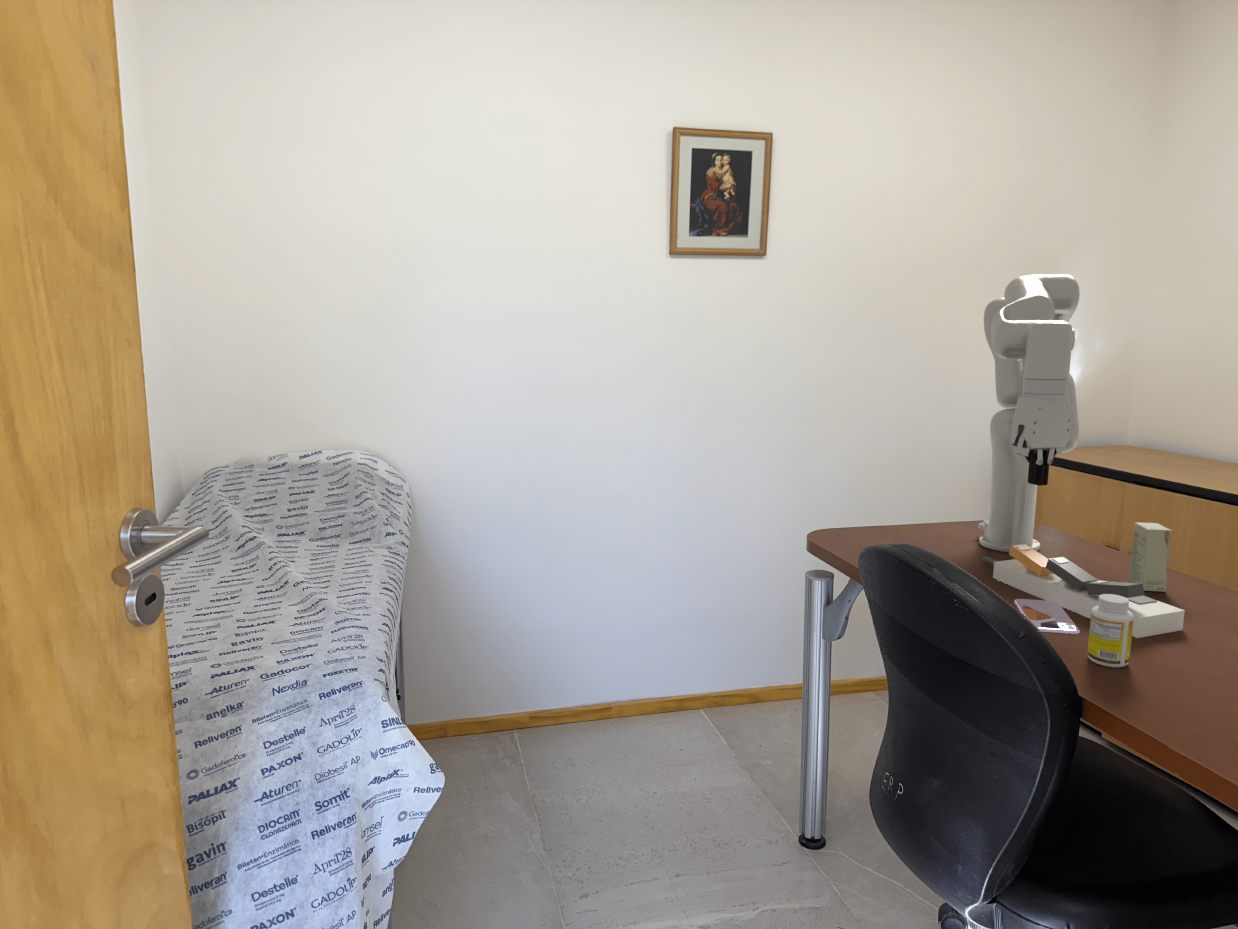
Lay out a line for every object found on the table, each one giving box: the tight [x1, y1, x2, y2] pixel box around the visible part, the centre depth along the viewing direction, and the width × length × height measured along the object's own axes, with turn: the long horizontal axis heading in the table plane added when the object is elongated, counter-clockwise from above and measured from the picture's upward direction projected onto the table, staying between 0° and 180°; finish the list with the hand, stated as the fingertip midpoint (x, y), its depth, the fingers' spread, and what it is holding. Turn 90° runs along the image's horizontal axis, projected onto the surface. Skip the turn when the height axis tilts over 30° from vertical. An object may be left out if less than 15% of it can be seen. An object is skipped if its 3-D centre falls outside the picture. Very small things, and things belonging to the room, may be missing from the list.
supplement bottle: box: [1087, 594, 1134, 668], centre depth 122 cm, size 6×6×10 cm
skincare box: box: [1128, 521, 1173, 593], centre depth 154 cm, size 6×4×12 cm
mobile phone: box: [1014, 598, 1080, 635], centre depth 141 cm, size 8×1×15 cm
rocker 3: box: [1086, 580, 1145, 598], centre depth 137 cm, size 8×4×2 cm, turn 17°
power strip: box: [981, 556, 1186, 639], centre depth 151 cm, size 40×10×5 cm, turn 18°
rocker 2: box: [1046, 556, 1099, 591], centre depth 146 cm, size 8×4×2 cm, turn 18°
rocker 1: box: [1008, 544, 1054, 576], centre depth 154 cm, size 8×4×2 cm, turn 18°
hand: (1037, 484), depth 153 cm, fingers closed
